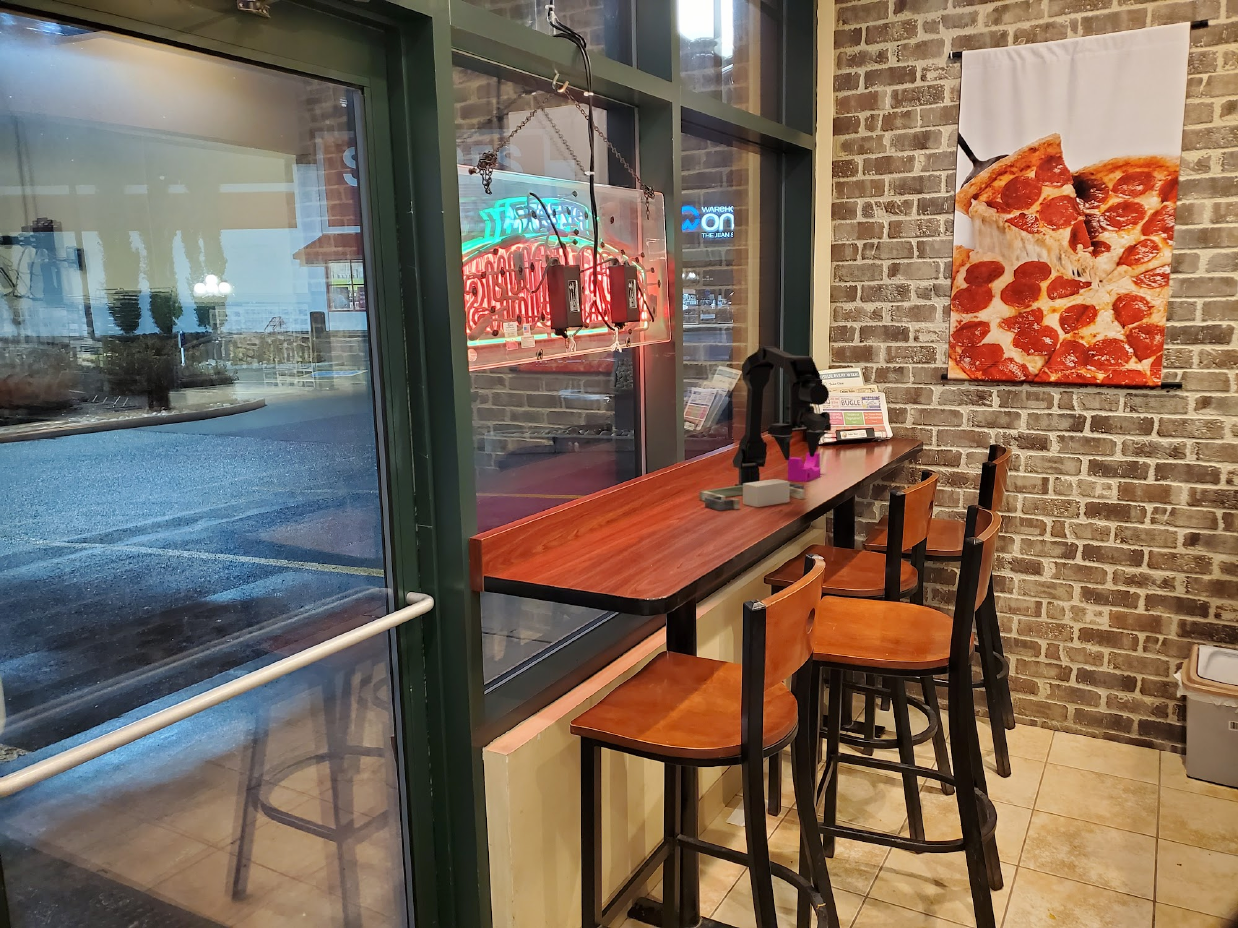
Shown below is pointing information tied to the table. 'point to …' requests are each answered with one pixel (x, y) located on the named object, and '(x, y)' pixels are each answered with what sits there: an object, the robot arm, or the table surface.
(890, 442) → the table surface
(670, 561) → the table surface
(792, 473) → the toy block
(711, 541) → the table surface
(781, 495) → the push block
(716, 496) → the trap lane
